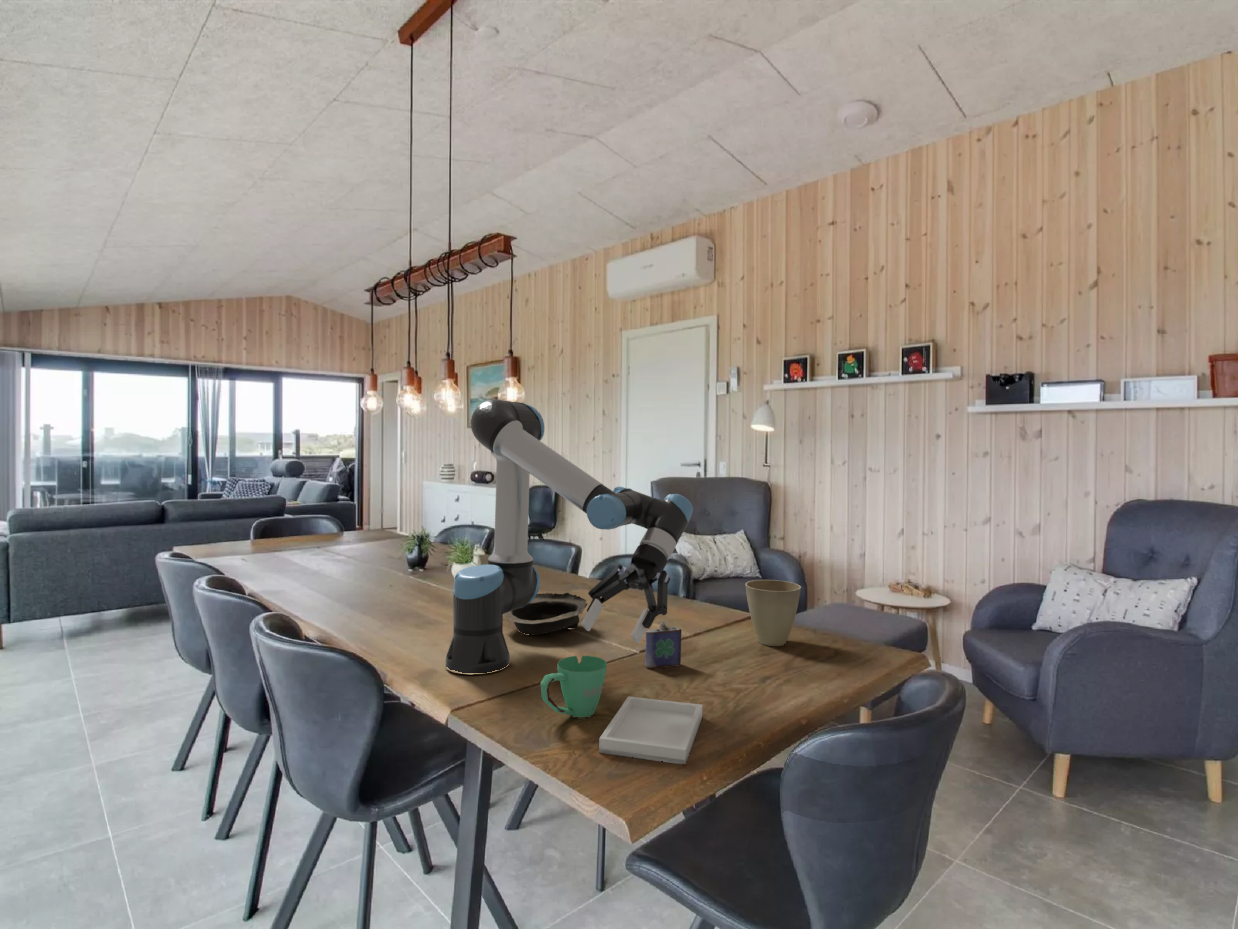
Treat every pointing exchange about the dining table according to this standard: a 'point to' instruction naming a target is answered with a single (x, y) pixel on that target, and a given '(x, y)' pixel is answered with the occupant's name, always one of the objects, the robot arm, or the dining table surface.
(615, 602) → the dining table surface
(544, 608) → the stone bowl
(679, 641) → the flask
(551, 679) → the mug
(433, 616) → the dining table surface
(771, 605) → the plant pot
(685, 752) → the cradle tray
